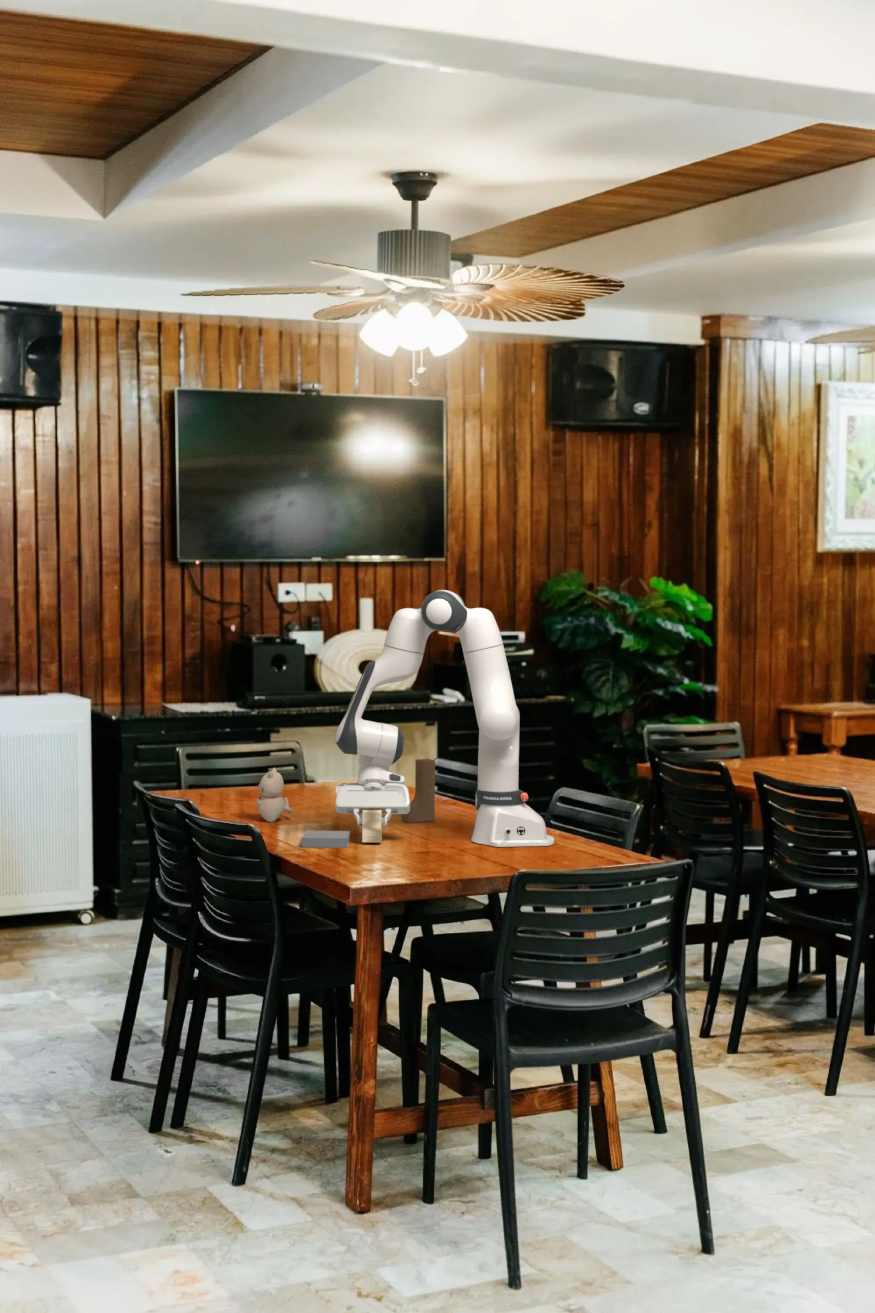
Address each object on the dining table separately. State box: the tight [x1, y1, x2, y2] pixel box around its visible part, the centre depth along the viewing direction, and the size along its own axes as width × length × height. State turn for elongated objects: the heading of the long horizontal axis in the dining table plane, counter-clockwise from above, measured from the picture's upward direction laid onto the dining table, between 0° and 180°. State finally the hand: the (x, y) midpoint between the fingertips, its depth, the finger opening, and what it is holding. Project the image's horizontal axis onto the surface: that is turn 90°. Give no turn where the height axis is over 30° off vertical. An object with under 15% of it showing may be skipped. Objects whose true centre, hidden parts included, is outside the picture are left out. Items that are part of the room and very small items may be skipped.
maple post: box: [361, 810, 383, 843], centre depth 410 cm, size 5×5×8 cm
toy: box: [255, 767, 294, 823], centre depth 449 cm, size 12×10×15 cm
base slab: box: [301, 830, 351, 849], centre depth 409 cm, size 12×12×2 cm
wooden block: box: [400, 758, 436, 824], centre depth 449 cm, size 9×4×18 cm, turn 118°
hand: (372, 824), depth 410 cm, fingers closed on maple post, 5 cm apart
